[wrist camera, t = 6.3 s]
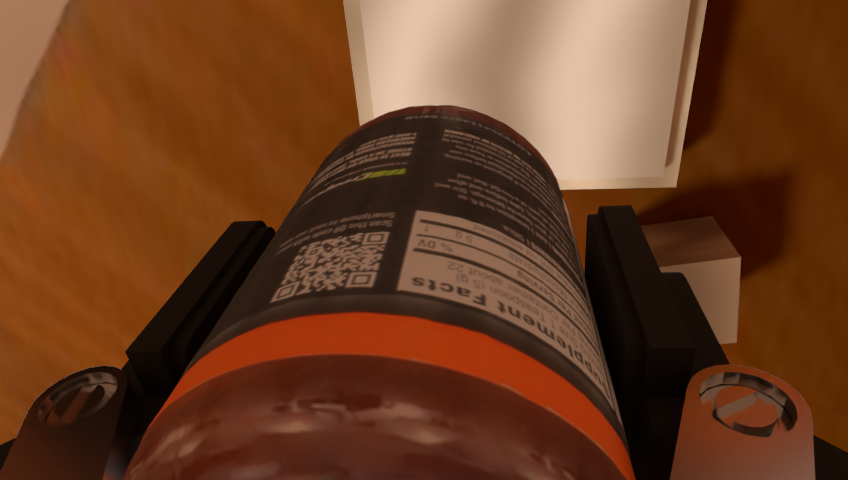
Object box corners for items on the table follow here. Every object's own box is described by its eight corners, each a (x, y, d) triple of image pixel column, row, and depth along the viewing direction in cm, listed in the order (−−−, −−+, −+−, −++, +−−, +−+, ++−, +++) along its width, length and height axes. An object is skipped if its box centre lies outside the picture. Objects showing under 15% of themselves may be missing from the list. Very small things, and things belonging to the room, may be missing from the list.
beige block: (711, 214, 29) (741, 257, 25) (709, 293, 31) (736, 342, 28) (609, 228, 30) (624, 271, 26) (614, 304, 32) (629, 352, 29)
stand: (717, -197, 20) (749, -210, 18) (662, 165, 27) (679, 193, 25) (336, -158, 22) (316, -165, 19) (378, 172, 29) (367, 199, 27)
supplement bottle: (437, 353, 16) (340, 1084, 6) (267, 209, 14) (-261, 913, 4) (622, 227, 13) (976, 1154, 3) (442, 32, 11) (116, 788, 2)
